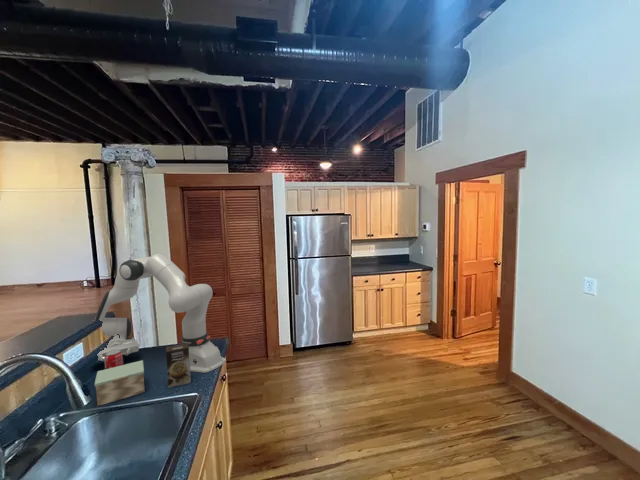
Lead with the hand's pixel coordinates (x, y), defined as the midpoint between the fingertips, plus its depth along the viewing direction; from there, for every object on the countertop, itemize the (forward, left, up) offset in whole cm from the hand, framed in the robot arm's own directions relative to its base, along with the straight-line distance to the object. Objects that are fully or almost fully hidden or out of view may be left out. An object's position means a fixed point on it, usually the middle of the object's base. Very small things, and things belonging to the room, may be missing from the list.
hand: (115, 356), depth 144 cm
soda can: (-7, +4, -7) cm, 11 cm away
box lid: (-24, +11, +1) cm, 26 cm away
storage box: (-24, +11, -7) cm, 27 cm away
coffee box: (-40, -4, -7) cm, 41 cm away
